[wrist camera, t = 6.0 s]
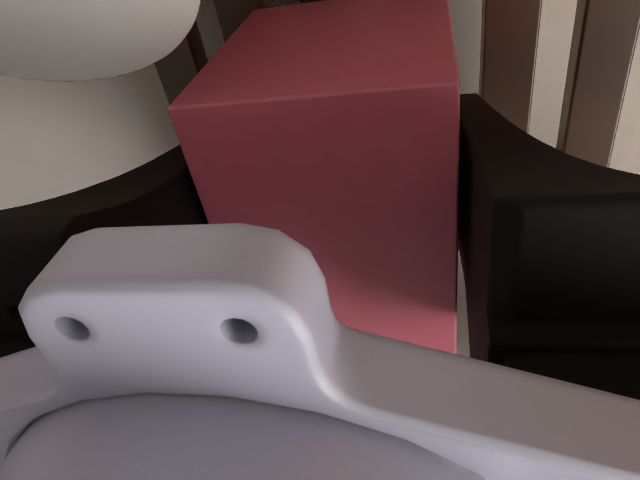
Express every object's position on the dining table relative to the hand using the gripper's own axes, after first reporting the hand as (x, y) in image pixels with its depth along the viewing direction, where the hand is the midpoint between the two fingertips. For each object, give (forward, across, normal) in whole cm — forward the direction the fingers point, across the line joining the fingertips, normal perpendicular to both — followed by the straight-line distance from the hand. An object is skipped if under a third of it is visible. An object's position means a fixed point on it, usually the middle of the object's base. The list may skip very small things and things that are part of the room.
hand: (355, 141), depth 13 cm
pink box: (+1, 0, 0) cm, 1 cm away
